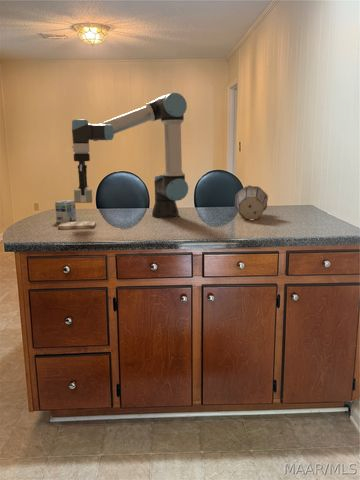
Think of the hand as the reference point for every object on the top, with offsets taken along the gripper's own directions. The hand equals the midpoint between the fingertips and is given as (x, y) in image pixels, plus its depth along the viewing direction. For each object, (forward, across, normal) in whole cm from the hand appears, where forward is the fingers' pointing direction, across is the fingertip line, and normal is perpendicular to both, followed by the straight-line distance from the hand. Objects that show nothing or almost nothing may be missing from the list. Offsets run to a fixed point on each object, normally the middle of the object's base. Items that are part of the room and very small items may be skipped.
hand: (84, 201), depth 202 cm
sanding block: (0, 0, 0) cm, 1 cm away
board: (+13, 0, -4) cm, 13 cm away
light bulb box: (+13, -18, -12) cm, 25 cm away
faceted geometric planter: (+13, -16, +89) cm, 91 cm away
